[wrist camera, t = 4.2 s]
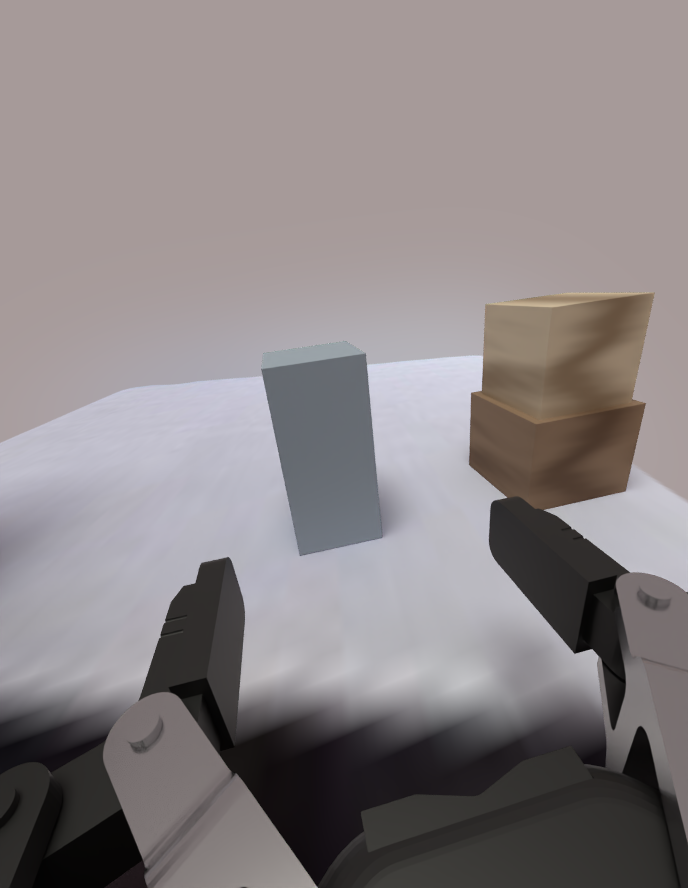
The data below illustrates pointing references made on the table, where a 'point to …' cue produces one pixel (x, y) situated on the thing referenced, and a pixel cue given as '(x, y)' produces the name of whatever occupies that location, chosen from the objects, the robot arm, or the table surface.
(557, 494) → the walnut block
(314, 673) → the table surface
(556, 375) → the beech block
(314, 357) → the slate block
